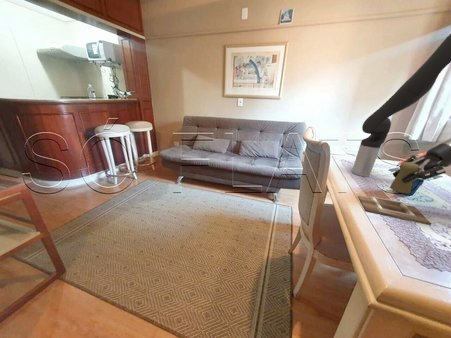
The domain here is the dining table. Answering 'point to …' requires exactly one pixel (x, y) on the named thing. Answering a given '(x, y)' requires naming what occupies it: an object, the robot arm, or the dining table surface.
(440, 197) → the dining table surface
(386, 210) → the board
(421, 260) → the dining table surface
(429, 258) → the dining table surface
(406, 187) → the olive game pawn
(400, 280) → the dining table surface
